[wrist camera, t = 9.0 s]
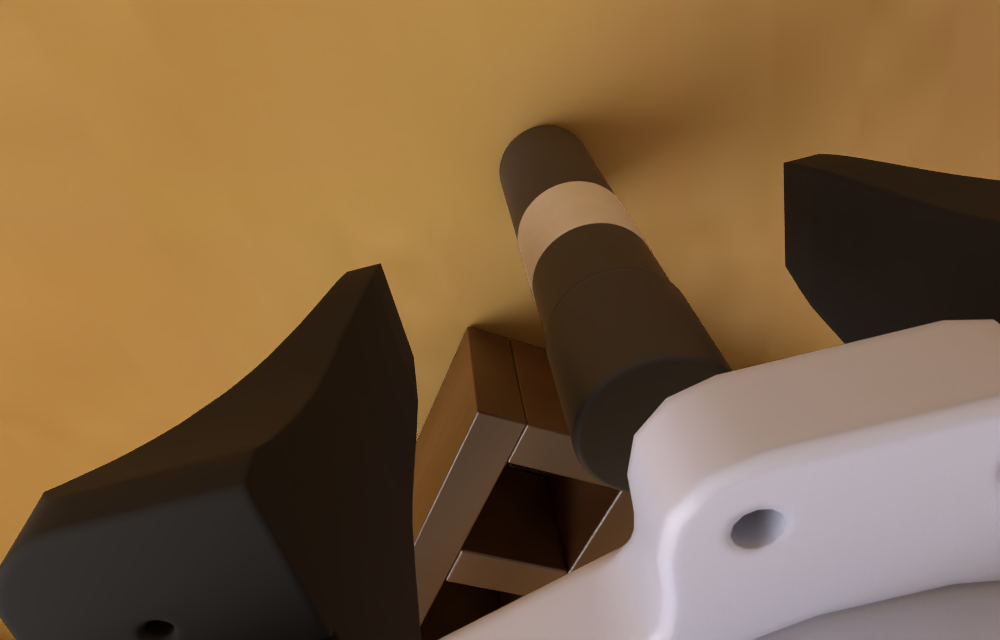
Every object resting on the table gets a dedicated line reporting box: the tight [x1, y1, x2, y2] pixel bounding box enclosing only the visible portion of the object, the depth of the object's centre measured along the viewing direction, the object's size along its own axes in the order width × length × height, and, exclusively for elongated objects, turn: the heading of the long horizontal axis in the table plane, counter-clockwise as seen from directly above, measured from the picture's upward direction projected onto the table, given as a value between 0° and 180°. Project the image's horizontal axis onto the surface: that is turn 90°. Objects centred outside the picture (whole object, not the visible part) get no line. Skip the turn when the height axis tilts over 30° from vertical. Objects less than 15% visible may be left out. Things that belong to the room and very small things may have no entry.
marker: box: [500, 126, 732, 492], centre depth 13 cm, size 2×2×10 cm
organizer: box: [413, 327, 634, 640], centre depth 22 cm, size 10×14×4 cm
